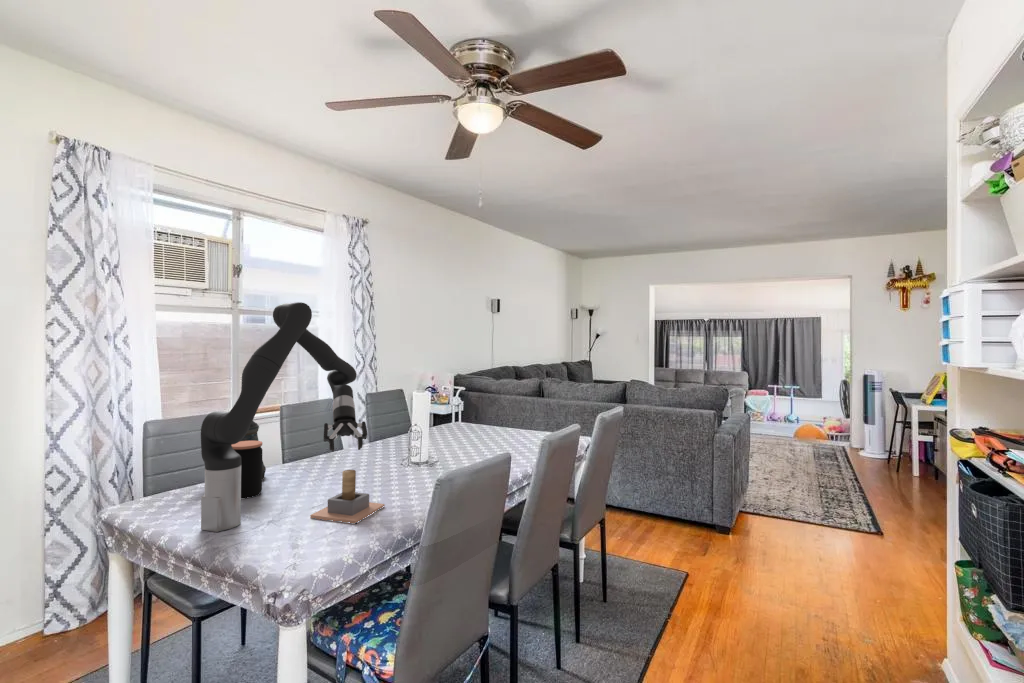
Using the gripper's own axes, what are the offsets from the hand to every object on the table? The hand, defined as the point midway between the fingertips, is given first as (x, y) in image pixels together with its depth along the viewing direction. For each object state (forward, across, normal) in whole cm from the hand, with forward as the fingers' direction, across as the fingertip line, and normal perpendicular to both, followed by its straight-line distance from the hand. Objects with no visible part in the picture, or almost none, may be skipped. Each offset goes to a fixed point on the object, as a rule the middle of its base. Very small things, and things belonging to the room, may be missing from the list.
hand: (346, 449), depth 166 cm
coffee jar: (-2, -32, +27) cm, 42 cm away
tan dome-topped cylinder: (+20, 0, +4) cm, 20 cm away
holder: (+20, 0, +5) cm, 21 cm away
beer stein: (-16, -36, +42) cm, 57 cm away
